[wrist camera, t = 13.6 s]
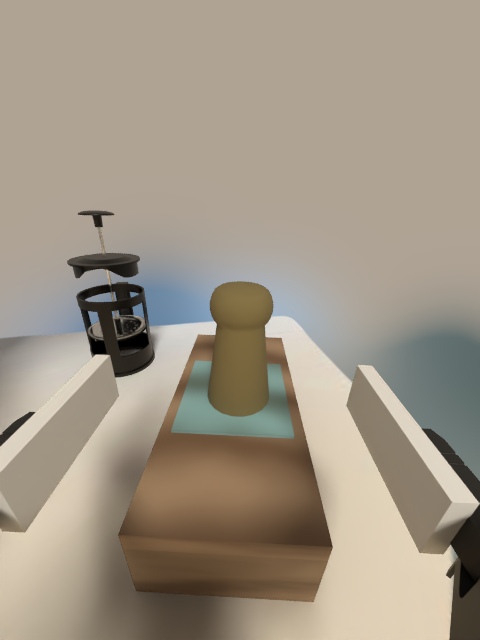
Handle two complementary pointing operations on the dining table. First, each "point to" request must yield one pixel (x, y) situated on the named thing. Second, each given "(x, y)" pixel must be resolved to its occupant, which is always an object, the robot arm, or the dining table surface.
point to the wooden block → (229, 496)
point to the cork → (240, 348)
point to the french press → (114, 309)
